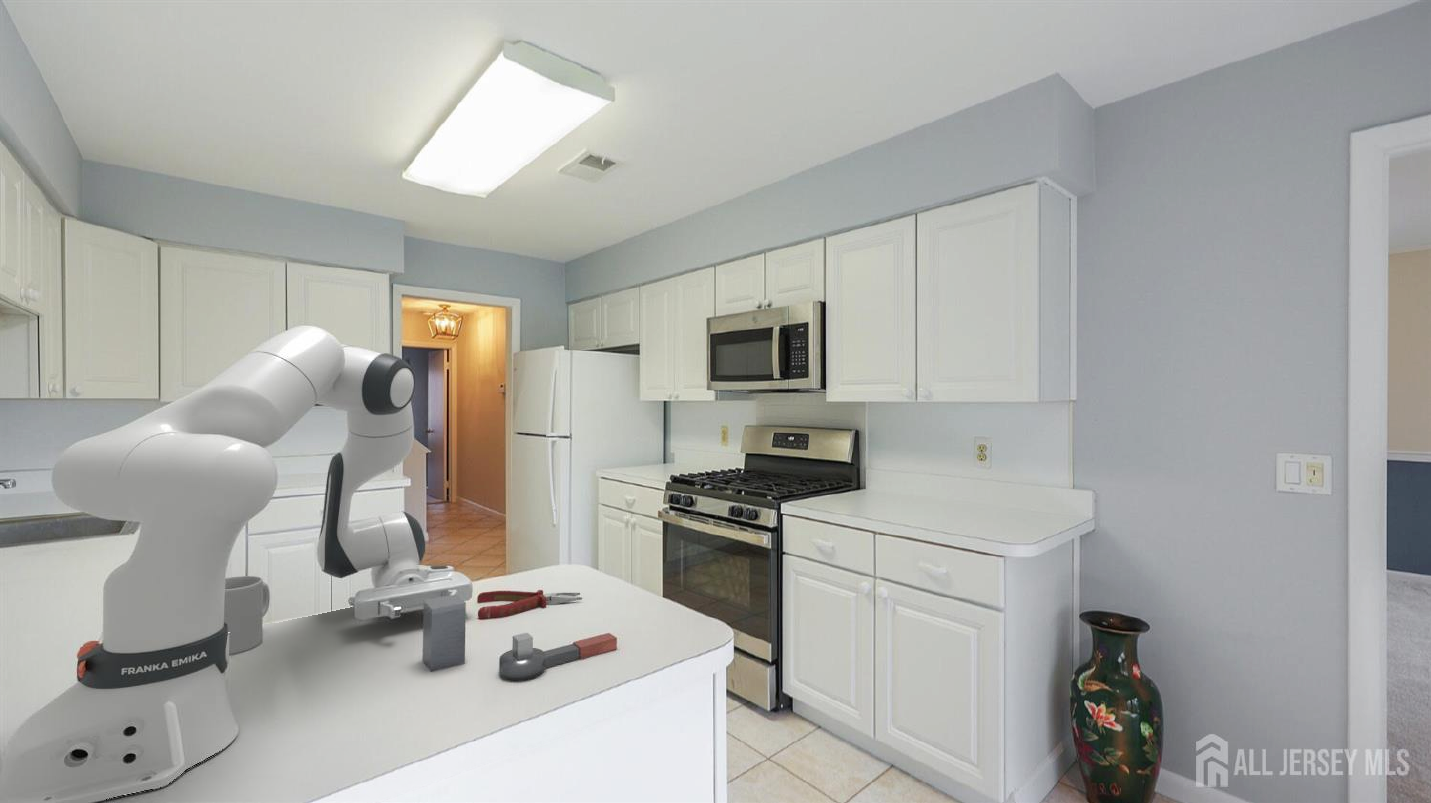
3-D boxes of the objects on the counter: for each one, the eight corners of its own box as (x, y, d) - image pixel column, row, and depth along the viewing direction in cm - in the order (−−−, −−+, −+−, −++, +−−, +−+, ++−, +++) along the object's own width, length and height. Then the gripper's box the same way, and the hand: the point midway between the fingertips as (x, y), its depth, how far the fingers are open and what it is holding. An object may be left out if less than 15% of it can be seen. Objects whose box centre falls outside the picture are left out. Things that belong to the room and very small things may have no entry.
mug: (235, 657, 101) (236, 591, 101) (185, 655, 101) (186, 589, 101) (288, 630, 113) (289, 570, 113) (244, 628, 113) (245, 569, 113)
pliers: (585, 610, 127) (586, 597, 127) (477, 623, 120) (477, 609, 120) (576, 593, 139) (576, 581, 139) (477, 603, 131) (477, 590, 131)
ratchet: (508, 685, 93) (509, 649, 93) (492, 669, 99) (493, 634, 99) (622, 653, 106) (623, 620, 106) (603, 640, 111) (603, 609, 111)
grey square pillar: (431, 671, 97) (432, 609, 97) (422, 660, 101) (423, 600, 101) (464, 663, 101) (465, 602, 101) (455, 652, 105) (456, 594, 105)
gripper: (346, 581, 114) (359, 601, 104) (460, 564, 127) (482, 580, 117) (345, 615, 115) (358, 638, 104) (459, 594, 127) (481, 613, 117)
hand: (425, 607), depth 110 cm, fingers open, 8 cm apart
